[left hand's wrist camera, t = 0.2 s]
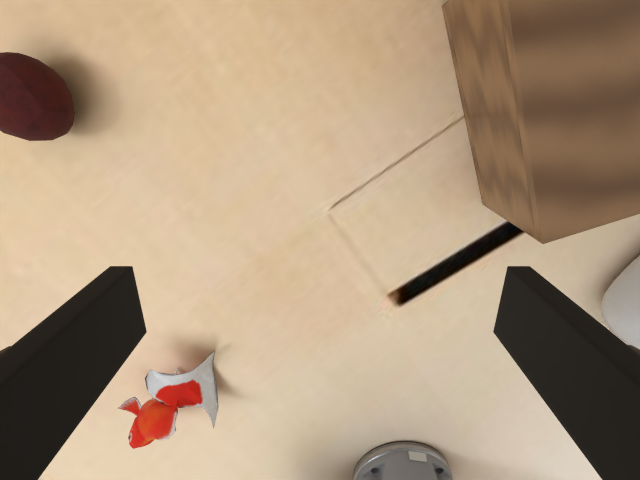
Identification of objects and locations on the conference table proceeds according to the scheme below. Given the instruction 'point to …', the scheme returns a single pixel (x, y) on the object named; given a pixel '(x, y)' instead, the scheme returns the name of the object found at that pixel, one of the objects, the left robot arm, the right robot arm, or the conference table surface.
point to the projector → (624, 305)
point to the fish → (171, 402)
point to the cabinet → (551, 108)
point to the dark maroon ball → (33, 99)
